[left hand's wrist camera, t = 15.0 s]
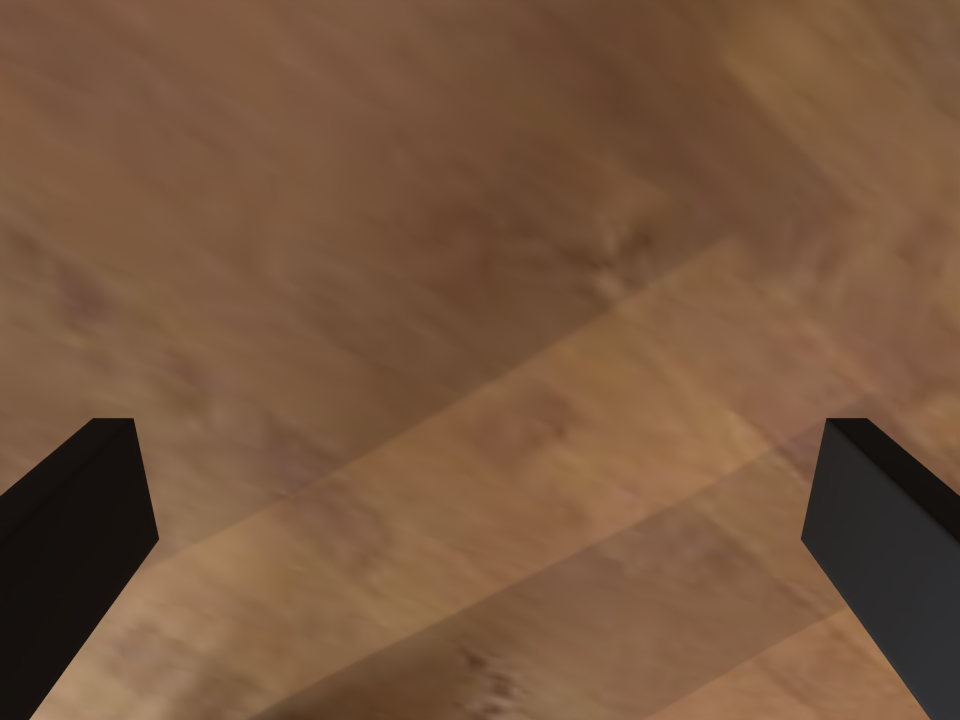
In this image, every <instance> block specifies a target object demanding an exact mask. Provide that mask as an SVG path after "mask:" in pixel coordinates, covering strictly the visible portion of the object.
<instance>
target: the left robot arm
mask: <svg viewBox="0 0 960 720" xmlns="http://www.w3.org/2000/svg"><path fill="white" fill-rule="evenodd" d="M158 540H159V536H158V532H157V527H156V522H155V517H154V513H153V508H152V503H151V498H150V494H149V489H148V484H147V480H146V475H145V470H144V465H143V461H142V456H141V451H140V447H139V442H138V437H137V432H136V428H135V423H134V418H93V419H92V420H90V421H89V422H88V423H87V424H86V425H84V426H83V427H82V428H81V429H80V430H78V431H77V432H76V433H75V434H74V435H73V436H71V437H70V438H69V439H68V440H67V441H65V442H64V443H63V444H62V445H61V446H59V447H58V448H57V449H56V450H55V451H53V452H52V453H51V454H50V455H49V456H48V457H46V458H45V459H44V460H43V461H42V462H40V463H39V464H38V465H37V466H36V467H34V468H33V469H32V470H31V471H30V472H28V473H27V474H26V475H25V476H24V477H22V478H21V479H20V480H19V481H18V482H17V483H15V484H14V485H13V486H12V487H11V488H9V489H8V490H7V491H6V492H5V493H3V494H2V495H1V496H0V720H29V719H30V718H31V717H32V715H33V714H34V712H35V711H36V710H37V708H38V707H39V705H40V704H41V703H42V701H43V700H44V699H45V697H46V696H47V694H48V693H49V692H50V690H51V689H52V687H53V686H54V685H55V683H56V682H57V680H58V679H59V678H60V676H61V675H62V674H63V672H64V671H65V669H66V668H67V667H68V665H69V664H70V662H71V661H72V660H73V658H74V657H75V655H76V654H77V653H78V651H79V650H80V649H81V647H82V646H83V644H84V643H85V642H86V640H87V639H88V637H89V636H90V635H91V633H92V632H93V630H94V629H95V628H96V626H97V625H98V623H99V622H100V621H101V619H102V618H103V617H104V615H105V614H106V612H107V611H108V610H109V608H110V607H111V605H112V604H113V603H114V601H115V600H116V598H117V597H118V596H119V594H120V593H121V592H122V590H123V589H124V587H125V586H126V585H127V583H128V582H129V580H130V579H131V578H132V576H133V575H134V573H135V572H136V571H137V569H138V568H139V567H140V565H141V564H142V562H143V561H144V560H145V558H146V557H147V555H148V554H149V553H150V551H151V550H152V548H153V547H154V546H155V544H156V543H157V542H158ZM801 540H802V542H803V543H804V544H805V546H806V547H807V548H808V550H809V551H810V553H811V554H812V555H813V557H814V558H815V560H816V561H817V562H818V564H819V565H820V567H821V568H822V569H823V571H824V572H825V573H826V575H827V576H828V578H829V579H830V580H831V582H832V583H833V585H834V586H835V587H836V589H837V590H838V592H839V593H840V594H841V596H842V597H843V598H844V600H845V601H846V603H847V604H848V605H849V607H850V608H851V610H852V611H853V612H854V614H855V615H856V617H857V618H858V619H859V621H860V622H861V623H862V625H863V626H864V628H865V629H866V630H867V632H868V633H869V635H870V636H871V637H872V639H873V640H874V642H875V643H876V644H877V646H878V647H879V649H880V650H881V651H882V653H883V654H884V655H885V657H886V658H887V660H888V661H889V662H890V664H891V665H892V667H893V668H894V669H895V671H896V672H897V674H898V675H899V676H900V678H901V679H902V680H903V682H904V683H905V685H906V686H907V687H908V689H909V690H910V692H911V693H912V694H913V696H914V697H915V699H916V700H917V701H918V703H919V704H920V705H921V707H922V708H923V710H924V711H925V712H926V714H927V715H928V717H929V718H930V719H931V720H960V496H959V495H958V494H957V493H955V492H954V491H953V490H952V489H951V488H949V487H948V486H947V485H946V484H945V483H943V482H942V481H941V480H940V479H939V478H938V477H936V476H935V475H934V474H933V473H932V472H930V471H929V470H928V469H927V468H926V467H924V466H923V465H922V464H921V463H920V462H918V461H917V460H916V459H915V458H914V457H912V456H911V455H910V454H909V453H908V452H907V451H905V450H904V449H903V448H902V447H901V446H899V445H898V444H897V443H896V442H895V441H893V440H892V439H891V438H890V437H889V436H887V435H886V434H885V433H884V432H883V431H882V430H880V429H879V428H878V427H877V426H876V425H874V424H873V423H872V422H871V421H870V420H868V419H867V418H826V423H825V428H824V432H823V437H822V442H821V447H820V451H819V456H818V461H817V465H816V470H815V475H814V480H813V484H812V489H811V494H810V498H809V503H808V508H807V513H806V517H805V522H804V527H803V532H802V536H801Z"/></svg>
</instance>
